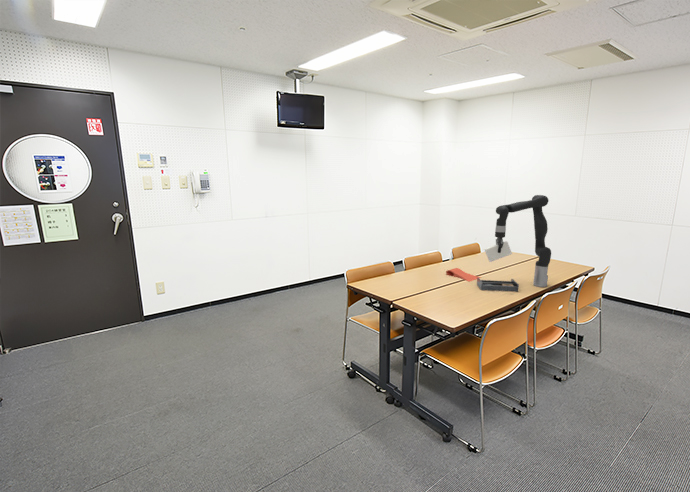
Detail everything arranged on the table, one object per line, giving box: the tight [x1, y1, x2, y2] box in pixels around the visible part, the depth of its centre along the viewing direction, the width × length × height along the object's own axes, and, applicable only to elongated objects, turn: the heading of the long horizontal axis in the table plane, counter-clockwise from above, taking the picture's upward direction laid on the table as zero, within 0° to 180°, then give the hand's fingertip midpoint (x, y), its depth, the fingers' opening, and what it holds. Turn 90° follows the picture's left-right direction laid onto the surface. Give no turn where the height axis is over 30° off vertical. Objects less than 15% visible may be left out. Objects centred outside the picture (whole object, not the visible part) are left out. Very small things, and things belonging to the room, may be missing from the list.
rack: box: [476, 278, 520, 293], centre depth 282 cm, size 28×15×6 cm, turn 82°
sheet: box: [445, 267, 483, 283], centre depth 314 cm, size 6×30×24 cm
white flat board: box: [483, 240, 513, 263], centre depth 281 cm, size 18×2×11 cm, turn 82°
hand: (498, 252), depth 281 cm, fingers closed on white flat board, 2 cm apart
